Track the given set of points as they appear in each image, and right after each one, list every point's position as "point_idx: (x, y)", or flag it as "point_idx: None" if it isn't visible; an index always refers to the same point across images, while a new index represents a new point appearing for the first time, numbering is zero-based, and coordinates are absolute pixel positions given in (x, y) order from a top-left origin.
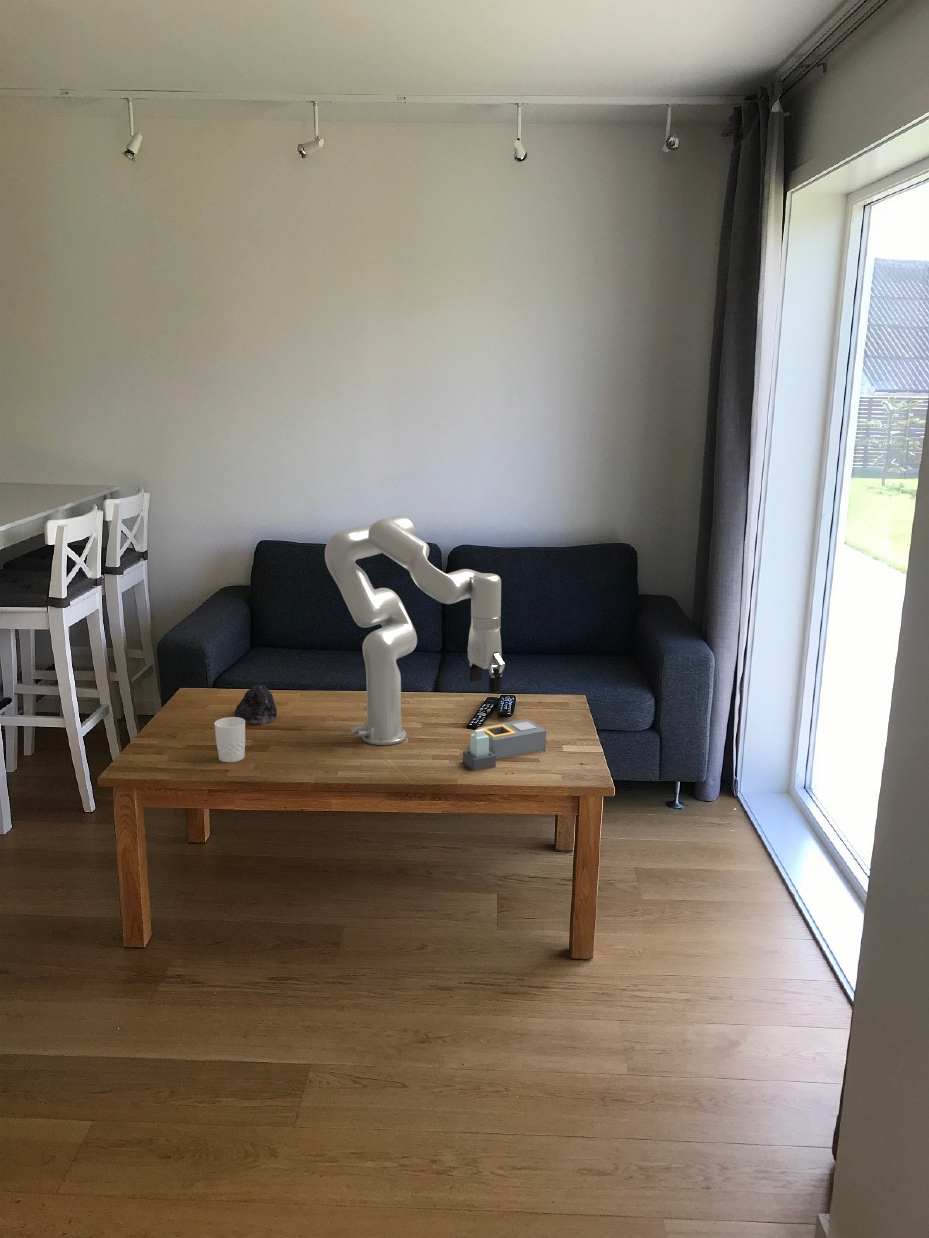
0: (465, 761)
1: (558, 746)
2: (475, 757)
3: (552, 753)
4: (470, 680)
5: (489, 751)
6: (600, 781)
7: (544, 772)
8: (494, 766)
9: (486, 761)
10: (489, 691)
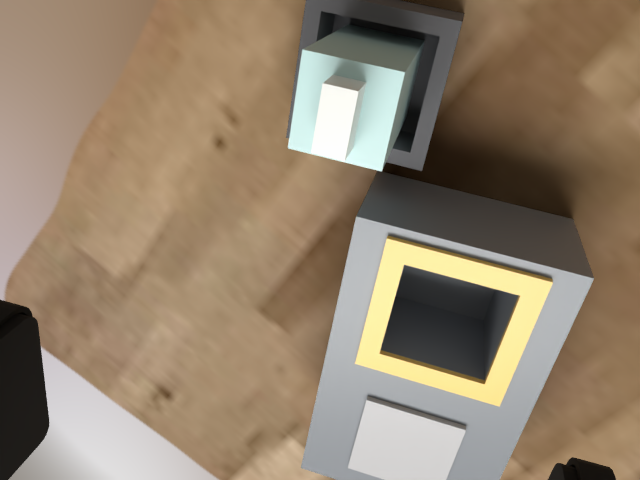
0: (428, 8)
1: None
2: (348, 33)
3: (294, 397)
4: (600, 469)
5: None
6: None
7: (163, 249)
8: None
9: None
10: (4, 302)
